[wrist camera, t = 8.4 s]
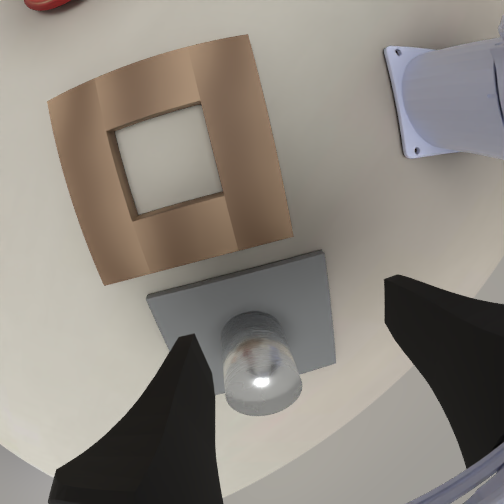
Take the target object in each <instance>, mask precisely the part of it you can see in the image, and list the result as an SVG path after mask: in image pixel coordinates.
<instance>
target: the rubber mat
mask: <svg viewBox="0 0 504 504" xmlns="http://www.w3.org/2000/svg"><path fill="white" fill-rule="evenodd" d="M146 301H147V303H148V305H149V308H150V310H151V312H152V314H153V317H154V319H155V321H156V323H157V325H158V328H159V330H160V332H161V334H162V336H163V338H164V340H165V343H166V345H167V347H168V349H169V351H170V350H171V349H172V347H173V345H174V344H175V342H176V340H177V339H178V337H181V336H185V335H189V334H194V333H195V335H196V338H197V340H198V342H199V345H200V347H201V349H202V351H203V354H204V356H205V358H206V360H207V363H208V365H209V367H210V369H211V371H212V375H213V383H214V391H215V395H217V394H222V393H225V384H224V373H223V361H222V348H221V333H222V330H223V328H224V326H225V325H226V323H227V322H228V321H229V320H230V319H232V318H233V317H235V316H237V315H239V314H241V313H244V312H249V311H260V312H265V313H268V314H270V315H272V316H273V317H275V318H276V319H277V320H278V322H279V323H280V325H281V327H282V330H283V333H284V335H285V338H286V341H287V343H288V346H289V349H290V351H291V354H292V357H293V359H294V362H295V365H296V367H297V370H298V373H299V374H303V373H306V372H309V371H313V370H316V369H319V368H322V367H326V366H329V365H332V364H335V363H336V356H335V343H334V332H333V321H332V311H331V302H330V293H329V284H328V276H327V268H326V260H325V253H324V252H323V251H322V250H320V251H316V252H312V253H309V254H305V255H301V256H297V257H294V258H290V259H286V260H282V261H279V262H275V263H271V264H267V265H263V266H260V267H256V268H252V269H248V270H244V271H240V272H236V273H232V274H229V275H225V276H221V277H217V278H213V279H209V280H205V281H201V282H197V283H193V284H189V285H185V286H181V287H177V288H173V289H169V290H165V291H161V292H157V293H153V294H149V295H147V298H146Z"/></svg>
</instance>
